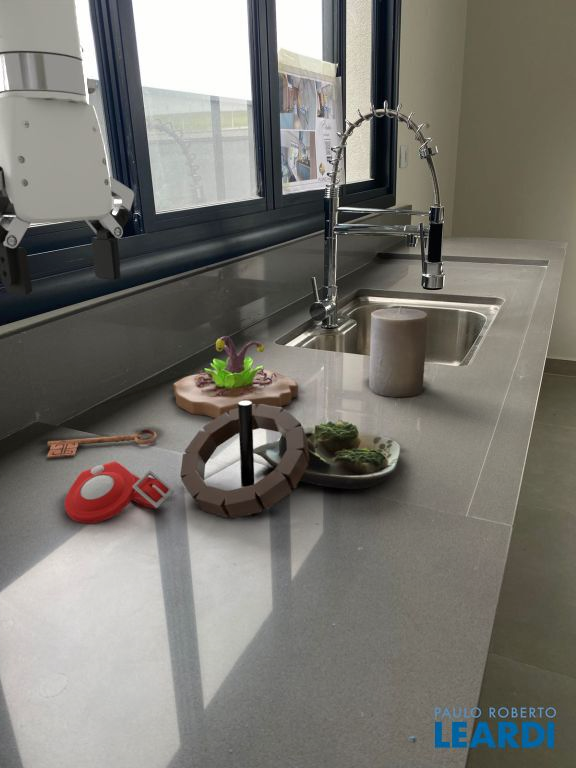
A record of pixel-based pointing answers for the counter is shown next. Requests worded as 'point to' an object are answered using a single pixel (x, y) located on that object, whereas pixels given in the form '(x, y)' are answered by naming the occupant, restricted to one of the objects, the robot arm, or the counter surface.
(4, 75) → the robot arm
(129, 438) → the key
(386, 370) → the pillar candle
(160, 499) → the tracker holder
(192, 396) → the plant
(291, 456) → the ring
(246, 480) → the stand
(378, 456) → the salad plate
